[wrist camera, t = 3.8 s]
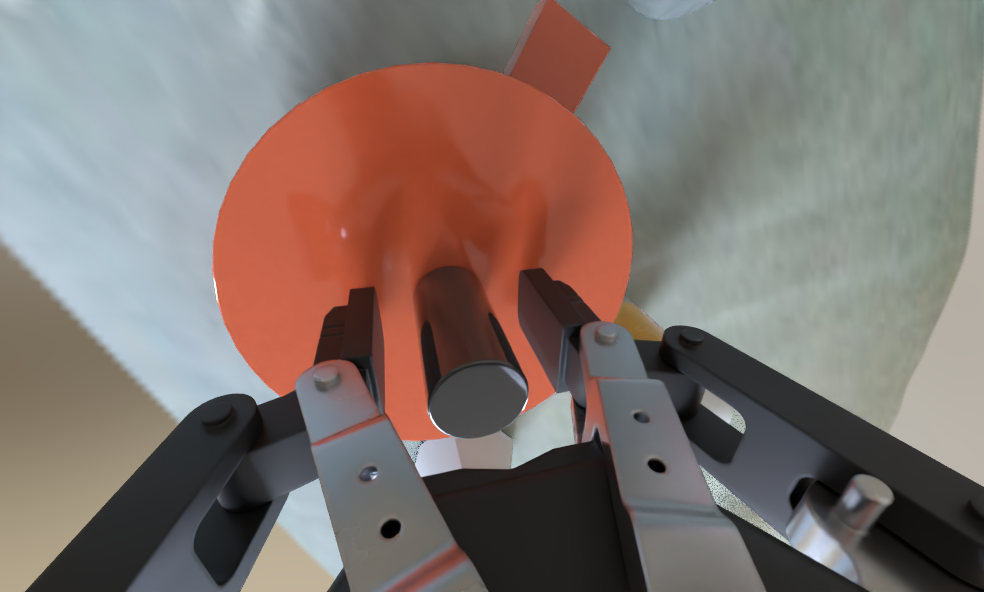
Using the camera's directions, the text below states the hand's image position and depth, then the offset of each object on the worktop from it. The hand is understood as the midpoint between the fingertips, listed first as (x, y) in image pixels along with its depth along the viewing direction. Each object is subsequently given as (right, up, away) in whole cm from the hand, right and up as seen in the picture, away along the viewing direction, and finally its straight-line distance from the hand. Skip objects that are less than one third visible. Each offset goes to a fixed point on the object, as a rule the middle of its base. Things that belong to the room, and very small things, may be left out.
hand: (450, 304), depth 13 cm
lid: (0, 0, +1) cm, 1 cm away
